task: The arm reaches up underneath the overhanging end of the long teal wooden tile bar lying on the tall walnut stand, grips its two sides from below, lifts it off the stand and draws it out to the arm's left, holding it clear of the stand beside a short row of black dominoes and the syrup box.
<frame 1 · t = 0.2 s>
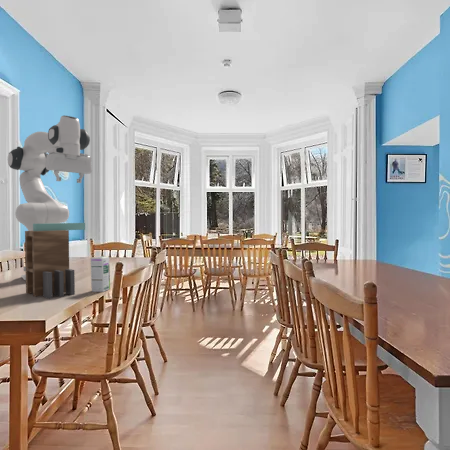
hand: (69, 182, 173), 48 cm above the table, tool pointing down, fingers open, 8 cm apart
domino 2: (59, 295, 153), on the table
syrup box: (100, 290, 163), on the table
domino 3: (70, 293, 156), on the table
teal tile bar: (60, 230, 163), point 26 cm above the table, touching walnut stand
walnut stand: (48, 292, 160), on the table
domino 1: (47, 297, 150), on the table
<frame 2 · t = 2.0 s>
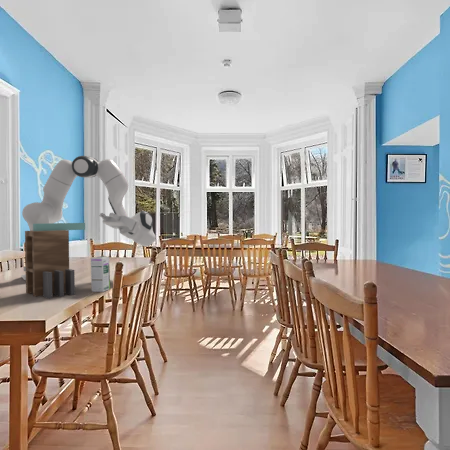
hand: (105, 214, 180), 33 cm above the table, tool pointing upward, fingers open, 8 cm apart
nothing on the table moved.
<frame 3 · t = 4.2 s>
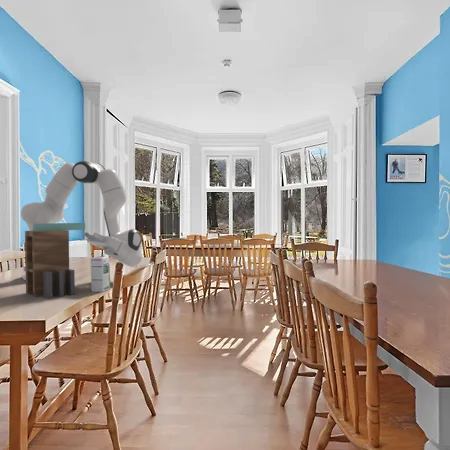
hand: (89, 233, 173), 24 cm above the table, tool pointing upward, fingers open, 8 cm apart
nothing on the table moved.
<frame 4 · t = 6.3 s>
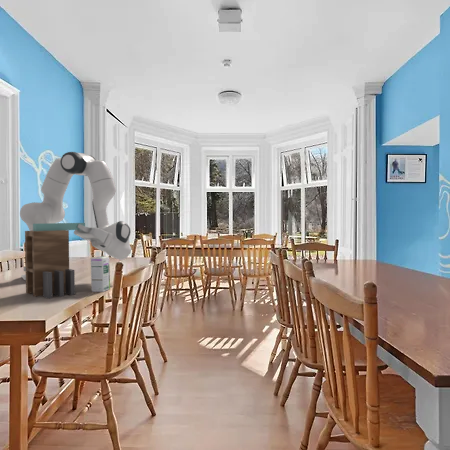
hand: (75, 225, 168), 28 cm above the table, tool pointing upward, fingers closed on teal tile bar, 3 cm apart
teal tile bar: (60, 230, 163), point 26 cm above the table, touching gripper, walnut stand
everything else where it was.
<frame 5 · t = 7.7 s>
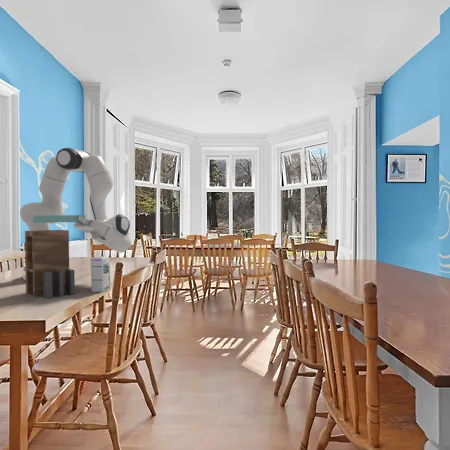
hand: (75, 217, 168), 31 cm above the table, tool pointing upward, fingers closed on teal tile bar, 3 cm apart
teal tile bar: (60, 222, 163), point 29 cm above the table, touching gripper
everything else where it was.
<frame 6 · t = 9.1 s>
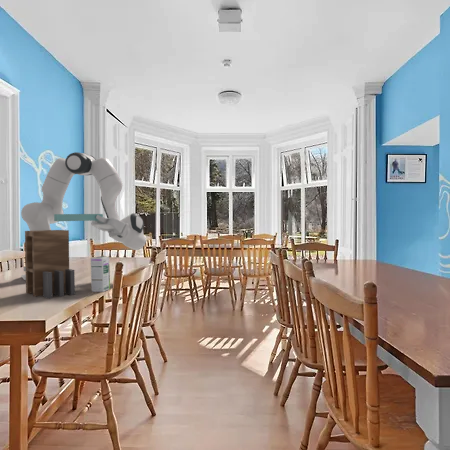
hand: (93, 216, 174), 32 cm above the table, tool pointing upward, fingers closed on teal tile bar, 3 cm apart
teal tile bar: (79, 220, 169), point 30 cm above the table, touching gripper
everything else where it was.
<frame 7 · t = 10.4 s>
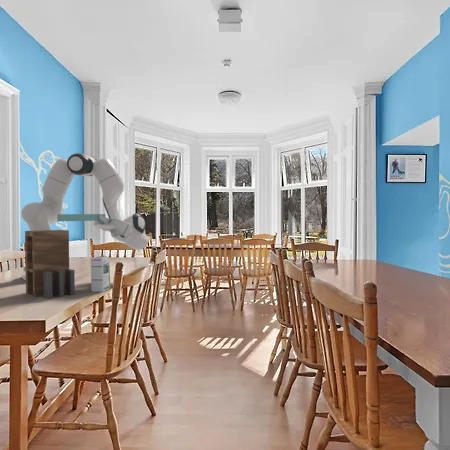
hand: (96, 216, 175), 32 cm above the table, tool pointing upward, fingers closed on teal tile bar, 3 cm apart
teal tile bar: (82, 220, 170), point 30 cm above the table, touching gripper
everything else where it was.
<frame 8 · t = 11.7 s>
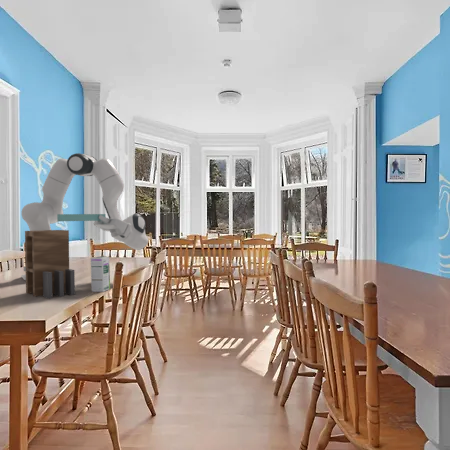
hand: (96, 216, 175), 32 cm above the table, tool pointing upward, fingers closed on teal tile bar, 3 cm apart
teal tile bar: (82, 220, 170), point 30 cm above the table, touching gripper
everything else where it was.
at the end: the gripper is holding teal tile bar; teal tile bar moved 10.7 cm from its start; teal tile bar touching gripper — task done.
